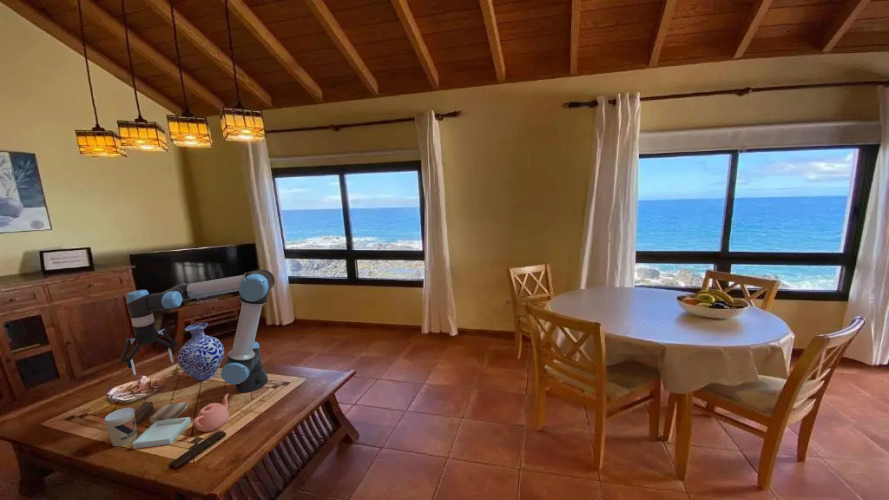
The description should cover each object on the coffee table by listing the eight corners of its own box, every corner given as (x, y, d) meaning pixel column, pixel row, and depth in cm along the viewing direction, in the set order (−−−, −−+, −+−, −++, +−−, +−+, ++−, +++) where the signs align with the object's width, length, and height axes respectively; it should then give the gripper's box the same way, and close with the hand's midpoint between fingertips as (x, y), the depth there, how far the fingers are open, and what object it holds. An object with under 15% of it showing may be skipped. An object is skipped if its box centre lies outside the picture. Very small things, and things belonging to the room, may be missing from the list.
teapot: (185, 435, 146) (181, 415, 145) (221, 409, 163) (218, 390, 162) (208, 438, 143) (204, 418, 142) (242, 411, 161) (239, 393, 159)
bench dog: (154, 410, 165) (152, 401, 164) (138, 424, 155) (136, 414, 154) (147, 411, 164) (145, 402, 164) (131, 425, 155) (129, 415, 154)
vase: (196, 369, 204) (187, 321, 199) (234, 365, 207) (227, 317, 202) (172, 389, 183) (162, 336, 178) (215, 384, 186) (206, 332, 181)
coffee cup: (121, 448, 140) (115, 422, 138) (103, 446, 142) (97, 420, 140) (145, 433, 149) (139, 407, 147) (128, 431, 151) (122, 406, 149)
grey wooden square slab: (188, 407, 167) (187, 402, 166) (175, 421, 157) (173, 415, 156) (165, 410, 165) (164, 404, 165) (151, 424, 156) (149, 418, 155)
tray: (191, 422, 155) (190, 417, 154) (170, 444, 141) (169, 438, 141) (157, 426, 153) (156, 421, 153) (133, 448, 139) (132, 443, 139)
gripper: (175, 314, 168) (184, 354, 172) (105, 331, 150) (116, 376, 154) (179, 317, 163) (188, 358, 167) (106, 335, 145) (118, 382, 149)
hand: (154, 367), depth 160 cm, fingers open, 13 cm apart
